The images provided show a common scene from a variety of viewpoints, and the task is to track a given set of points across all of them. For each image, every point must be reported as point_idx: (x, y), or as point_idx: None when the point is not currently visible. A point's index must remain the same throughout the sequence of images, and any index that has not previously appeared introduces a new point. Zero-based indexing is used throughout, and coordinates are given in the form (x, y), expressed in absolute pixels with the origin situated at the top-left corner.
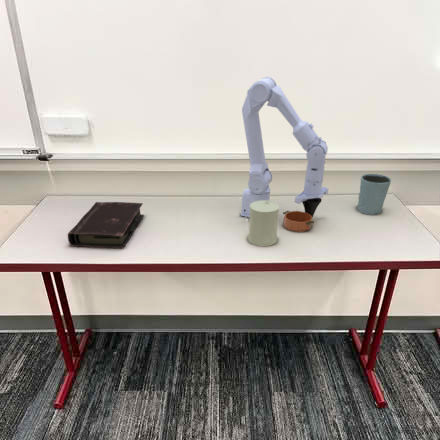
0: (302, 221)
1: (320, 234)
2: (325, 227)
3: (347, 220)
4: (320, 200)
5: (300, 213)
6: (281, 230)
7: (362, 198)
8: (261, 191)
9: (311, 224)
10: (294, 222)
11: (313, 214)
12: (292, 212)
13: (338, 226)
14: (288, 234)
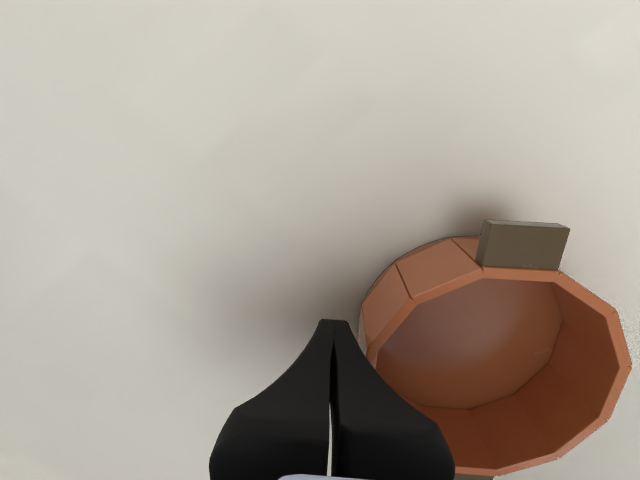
0: (386, 343)
1: (464, 118)
2: (317, 176)
3: (63, 136)
4: (266, 428)
5: None
6: None
7: None
8: None
9: (402, 263)
10: (620, 340)
11: (322, 333)
12: None
13: (215, 113)
14: (628, 288)
